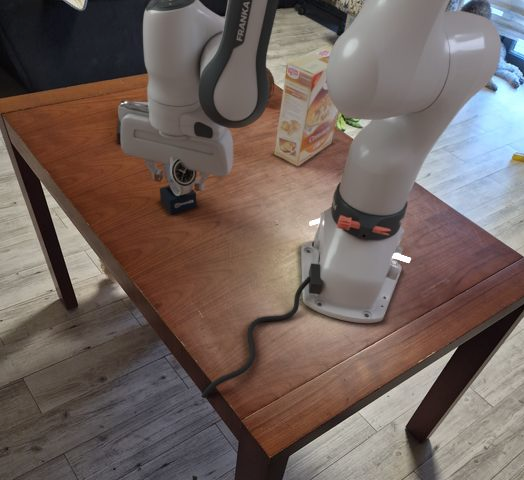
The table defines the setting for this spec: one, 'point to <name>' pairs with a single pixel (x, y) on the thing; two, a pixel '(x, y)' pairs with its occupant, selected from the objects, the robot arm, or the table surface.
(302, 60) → the coffeecake box
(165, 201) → the watch
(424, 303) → the table surface
